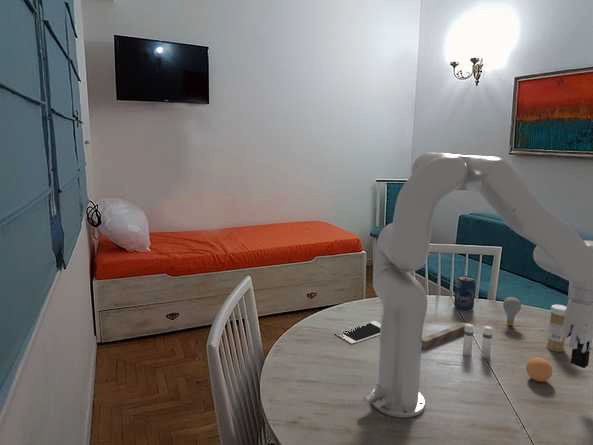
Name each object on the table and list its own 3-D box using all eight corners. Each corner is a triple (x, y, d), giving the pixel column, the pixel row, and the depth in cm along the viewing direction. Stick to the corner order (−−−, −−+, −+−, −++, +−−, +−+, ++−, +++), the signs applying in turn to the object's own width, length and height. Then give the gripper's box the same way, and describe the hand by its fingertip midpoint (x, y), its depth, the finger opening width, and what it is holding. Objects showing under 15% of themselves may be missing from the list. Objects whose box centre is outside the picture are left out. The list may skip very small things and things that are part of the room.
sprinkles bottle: (566, 349, 131) (572, 307, 128) (559, 353, 128) (564, 310, 126) (551, 344, 135) (556, 302, 132) (543, 347, 132) (548, 305, 130)
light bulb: (519, 324, 149) (522, 296, 147) (517, 330, 144) (520, 301, 142) (502, 320, 152) (505, 293, 150) (500, 326, 147) (502, 298, 145)
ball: (543, 388, 110) (546, 367, 109) (520, 378, 115) (522, 357, 114) (555, 381, 114) (558, 360, 112) (532, 371, 118) (534, 351, 117)
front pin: (486, 359, 125) (489, 330, 123) (479, 356, 127) (481, 327, 125) (491, 357, 126) (494, 328, 124) (484, 353, 128) (486, 325, 126)
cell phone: (393, 332, 144) (393, 329, 144) (351, 346, 134) (352, 343, 134) (374, 322, 151) (374, 320, 151) (333, 335, 141) (333, 332, 141)
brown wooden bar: (424, 349, 131) (425, 341, 130) (419, 346, 132) (419, 339, 132) (468, 331, 143) (469, 324, 143) (463, 329, 145) (463, 322, 144)
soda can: (455, 311, 160) (457, 280, 157) (452, 304, 166) (454, 274, 164) (475, 312, 159) (478, 281, 156) (471, 305, 165) (473, 275, 163)
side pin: (468, 357, 126) (470, 328, 125) (460, 353, 128) (463, 324, 127) (473, 354, 128) (475, 325, 126) (465, 351, 130) (468, 322, 128)
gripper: (584, 282, 110) (576, 350, 113) (554, 295, 101) (547, 368, 105) (618, 291, 104) (610, 361, 107) (590, 305, 95) (582, 381, 99)
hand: (579, 364), depth 106 cm, fingers closed
